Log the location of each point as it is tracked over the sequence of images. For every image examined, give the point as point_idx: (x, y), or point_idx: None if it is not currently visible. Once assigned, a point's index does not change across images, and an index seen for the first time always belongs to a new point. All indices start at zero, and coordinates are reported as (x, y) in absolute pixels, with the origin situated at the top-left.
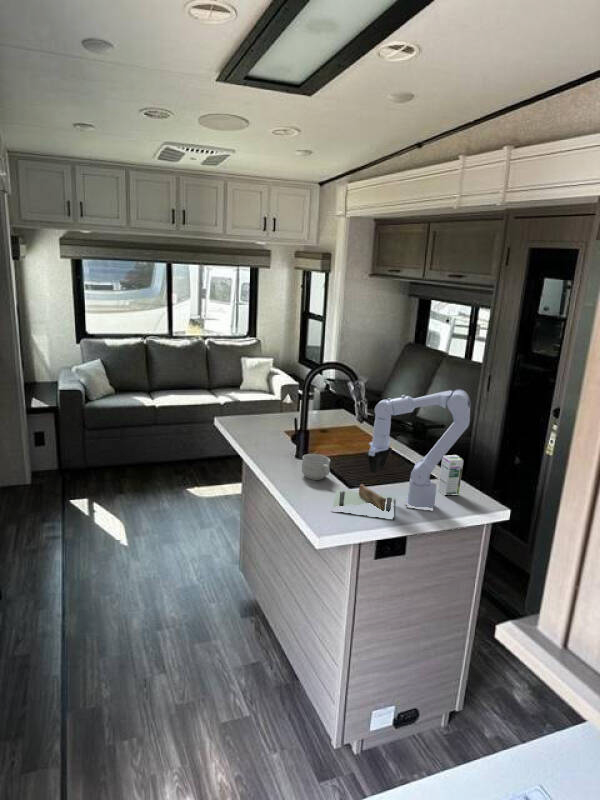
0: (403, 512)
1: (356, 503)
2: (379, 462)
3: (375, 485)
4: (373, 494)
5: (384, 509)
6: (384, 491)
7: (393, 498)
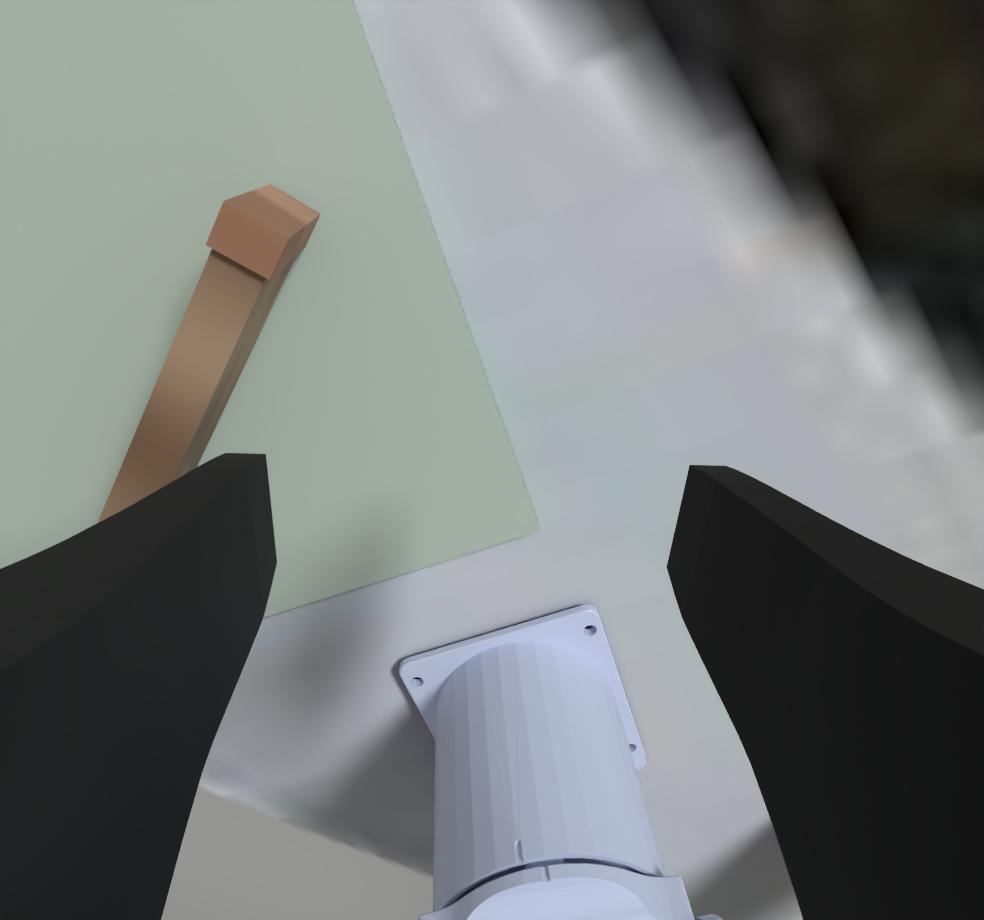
0: (302, 666)
1: (47, 256)
2: (723, 530)
3: (798, 218)
4: (112, 493)
5: None
6: (667, 377)
7: (500, 533)
